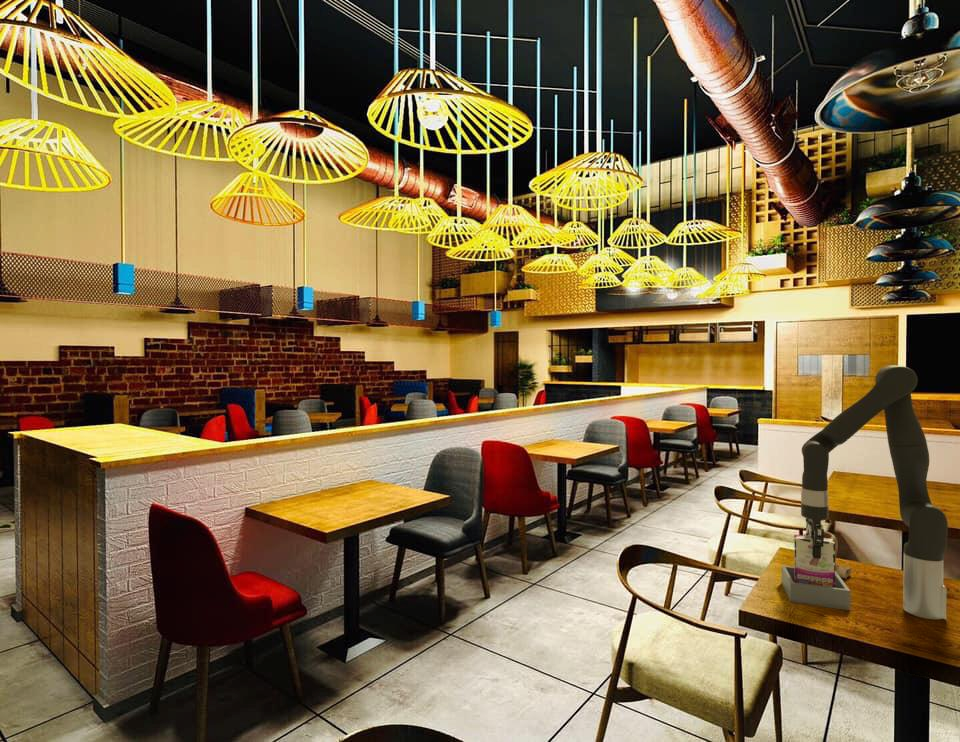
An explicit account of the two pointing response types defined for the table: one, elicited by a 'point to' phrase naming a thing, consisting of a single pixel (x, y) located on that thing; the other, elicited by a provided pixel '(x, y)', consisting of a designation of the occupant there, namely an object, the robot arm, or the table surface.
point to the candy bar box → (814, 562)
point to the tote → (815, 591)
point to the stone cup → (841, 570)
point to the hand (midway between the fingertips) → (814, 554)
